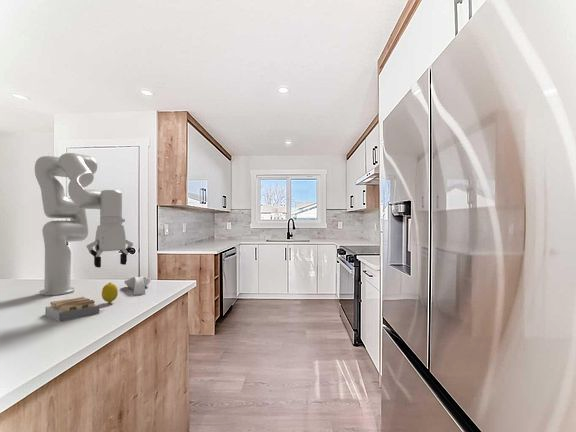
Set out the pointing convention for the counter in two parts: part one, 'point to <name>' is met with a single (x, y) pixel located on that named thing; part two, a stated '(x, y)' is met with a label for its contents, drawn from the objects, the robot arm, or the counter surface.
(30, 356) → the counter surface
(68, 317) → the dock
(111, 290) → the lemon
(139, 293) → the spoon rest
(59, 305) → the pallet
